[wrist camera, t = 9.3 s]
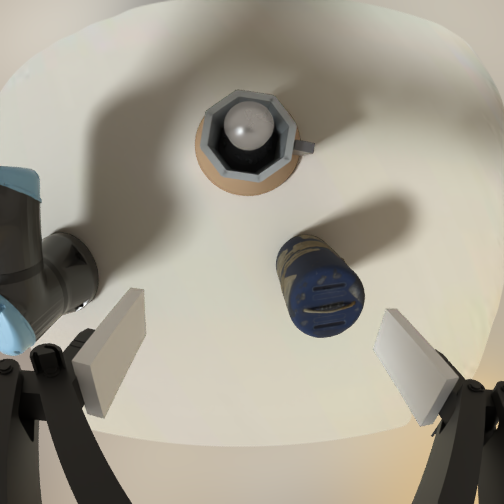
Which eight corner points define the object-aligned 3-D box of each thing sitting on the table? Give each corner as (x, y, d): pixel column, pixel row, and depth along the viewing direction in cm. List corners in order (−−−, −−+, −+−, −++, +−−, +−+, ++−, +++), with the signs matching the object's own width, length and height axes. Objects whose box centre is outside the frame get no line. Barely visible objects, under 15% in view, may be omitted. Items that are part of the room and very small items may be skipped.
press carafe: (189, 187, 46) (166, 197, 32) (205, 89, 41) (188, 60, 28) (290, 202, 47) (307, 218, 33) (306, 105, 42) (330, 82, 29)
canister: (280, 228, 48) (298, 265, 31) (336, 236, 48) (380, 274, 31) (270, 284, 51) (282, 343, 33) (324, 290, 51) (357, 347, 34)
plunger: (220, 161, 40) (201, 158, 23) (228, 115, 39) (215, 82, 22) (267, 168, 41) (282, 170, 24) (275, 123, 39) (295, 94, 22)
